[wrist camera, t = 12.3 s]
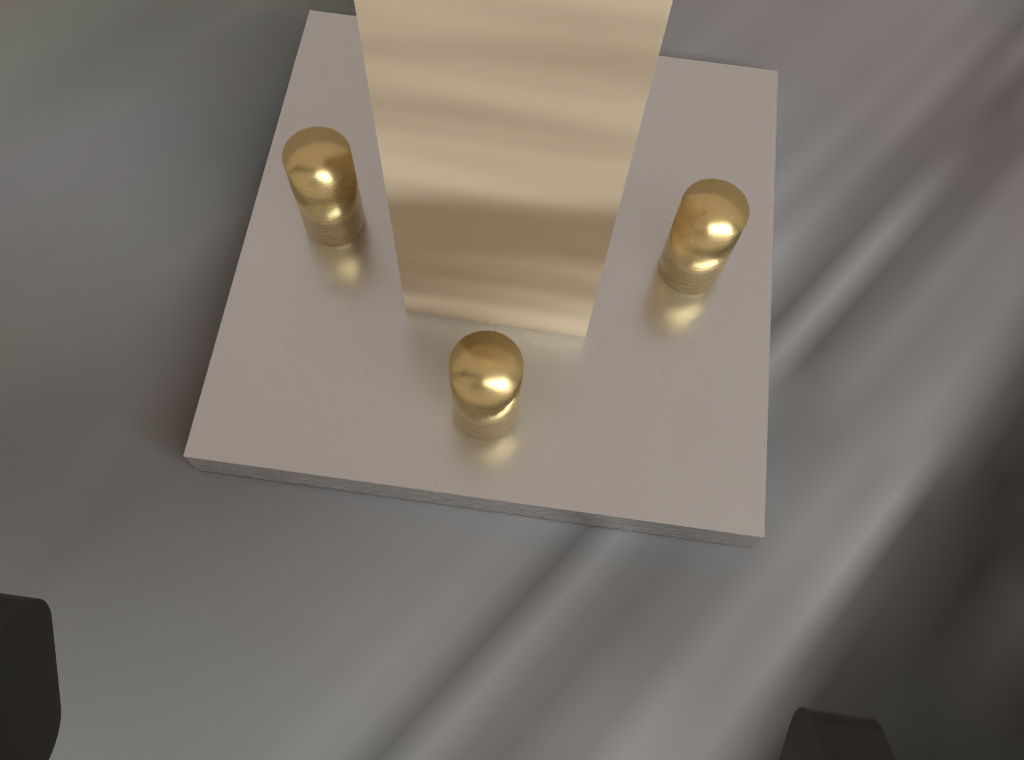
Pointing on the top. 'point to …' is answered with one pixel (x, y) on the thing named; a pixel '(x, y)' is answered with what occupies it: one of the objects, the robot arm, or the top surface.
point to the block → (507, 147)
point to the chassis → (508, 327)
